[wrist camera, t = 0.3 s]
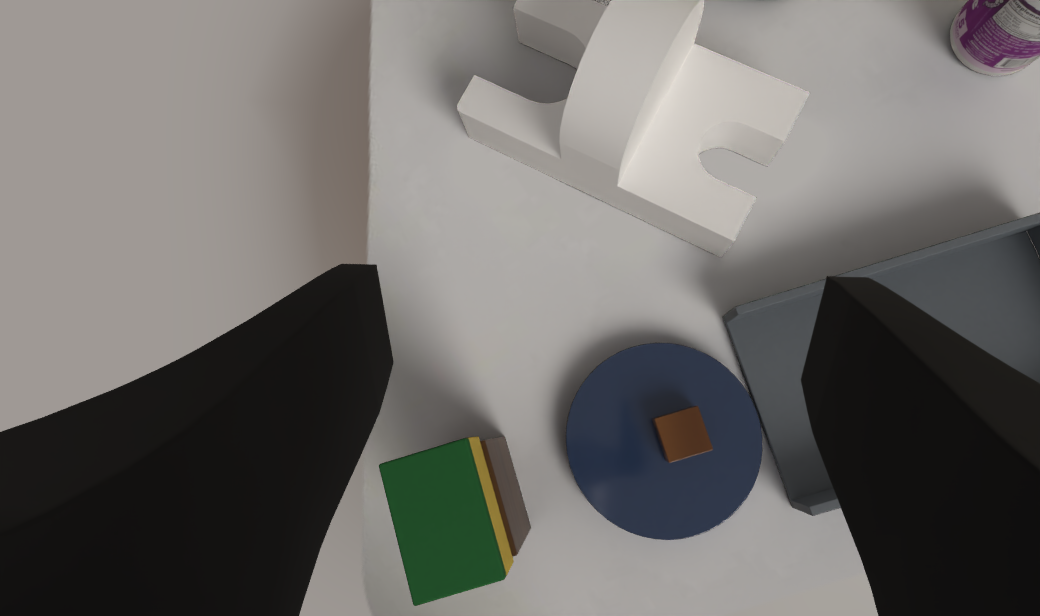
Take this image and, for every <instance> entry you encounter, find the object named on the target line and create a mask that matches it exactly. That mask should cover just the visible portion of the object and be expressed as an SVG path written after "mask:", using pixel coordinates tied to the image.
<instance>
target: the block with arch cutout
mask: <svg viewBox="0 0 1040 616" xmlns="http://www.w3.org/2000/svg"><path fill="white" fill-rule="evenodd" d="M703 9H704V0H611V1H610V3H609V5H608V6H605V5H603V4H601V3H598V2H596V1H594V0H517V1H516V3H515V5H514V7H513V11H514V16H515V22H516V28H517V34H518V39H519V42H520V43H522V44H524V45H527V46H529V47H531V48H533V49H536V50H538V51H540V52H542V53H545V54H547V55H549V56H551V57H554V58H556V59H558V60H560V61H563V62H565V63H567V64H569V65H571V66H572V67H574V68H576V69H577V72H576V75H575V77H574V80H573V83H572V85H571V88H570V92H569V95H568V98H566V99H564V100H562V101H559V102H554V103H538V102H535V101H531V100H528V99H526V98H524V97H522V96H520V95H517V94H515V93H513V92H511V91H509V90H507V89H504V88H502V87H500V86H498V85H496V84H493V83H491V82H489V81H487V80H485V79H483V78H480V77H478V76H476V75H474V76H473V78H472V80H471V81H470V83H469V85H468V87H467V88H466V90H465V92H464V94H463V95H462V97H461V99H460V101H459V102H458V104H457V109H458V112H459V114H460V117H461V119H462V122H463V124H464V127H465V129H466V131H467V134H468V136H469V137H470V138H471V139H473V140H475V141H477V142H480V143H482V144H484V145H486V146H488V147H490V148H492V149H494V150H496V151H498V152H500V153H503V154H505V155H507V156H509V157H511V158H513V159H515V160H517V161H519V162H521V163H523V164H526V165H528V166H530V167H532V168H534V169H536V170H538V171H540V172H542V173H544V174H546V175H549V176H551V177H553V178H555V179H557V180H559V181H561V182H564V183H566V184H568V185H570V186H572V187H574V188H576V189H578V190H580V191H583V192H585V193H587V194H589V195H591V196H593V197H595V198H597V199H599V200H601V201H603V202H606V203H608V204H610V205H612V206H614V207H616V208H618V209H620V210H622V211H624V212H627V213H629V214H631V215H633V216H635V217H637V218H639V219H641V220H643V221H645V222H647V223H650V224H652V225H654V226H656V227H658V228H660V229H662V230H664V231H666V232H668V233H670V234H673V235H675V236H677V237H679V238H681V239H683V240H685V241H687V242H689V243H691V244H693V245H696V246H698V247H700V248H702V249H704V250H706V251H708V252H710V253H712V254H714V255H716V256H719V257H722V256H723V255H724V254H725V252H726V251H727V250H728V249H729V248H730V246H731V245H732V244H733V243H734V242H735V240H736V238H737V236H738V234H739V232H740V230H741V228H742V226H743V224H744V222H745V220H746V218H747V216H748V214H749V212H750V210H751V208H752V206H753V204H754V202H755V200H756V198H757V197H755V196H753V195H751V194H749V193H746V192H744V191H742V190H740V189H738V188H735V187H733V186H731V185H729V184H727V183H724V182H722V181H720V180H718V179H716V178H714V177H713V176H711V175H710V174H709V173H708V172H707V171H706V170H705V169H704V168H703V166H702V164H701V162H700V159H699V154H700V153H701V152H703V151H706V150H708V149H712V148H725V149H728V150H731V151H733V152H736V153H738V154H740V155H742V156H745V157H747V158H749V159H751V160H754V161H756V162H758V163H760V164H762V165H765V166H767V167H768V165H769V164H770V163H771V161H772V160H773V158H774V157H775V156H776V154H777V153H778V151H779V150H780V149H781V147H782V146H783V144H784V143H785V141H786V139H787V138H788V136H789V134H790V132H791V130H792V128H793V126H794V124H795V122H796V120H797V118H798V116H799V114H800V112H801V110H802V108H803V106H804V104H805V102H806V100H807V98H808V96H809V94H810V92H808V91H806V90H803V89H801V88H799V87H796V86H794V85H792V84H789V83H787V82H785V81H782V80H780V79H777V78H775V77H773V76H770V75H768V74H766V73H763V72H761V71H759V70H756V69H754V68H751V67H749V66H747V65H744V64H742V63H740V62H737V61H735V60H733V59H730V58H728V57H725V56H723V55H721V54H718V53H716V52H714V51H711V50H709V49H707V48H704V47H702V46H700V45H697V44H695V43H694V42H695V39H696V35H697V32H698V28H699V25H700V21H701V18H702V13H703Z"/></svg>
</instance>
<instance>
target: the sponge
mask: <svg viewBox="0 0 1040 616" xmlns="http://www.w3.org/2000/svg"><path fill="white" fill-rule="evenodd" d="M379 468H380V472H381V476H382V481H383V485H384V489H385V493H386V497H387V501H388V505H389V509H390V513H391V517H392V521H393V525H394V529H395V533H396V537H397V541H398V545H399V549H400V553H401V557H402V561H403V565H404V569H405V573H406V577H407V581H408V585H409V589H410V593H411V597H412V601H413V604H414V606H417V605H420V604H424V603H427V602H430V601H434V600H437V599H440V598H444V597H447V596H451V595H454V594H457V593H461V592H464V591H468V590H471V589H474V588H478V587H481V586H484V585H488V584H491V583H495V582H498V581H501V580H504V579H505V577H506V575H507V574H508V572H509V570H510V568H511V566H512V564H513V557H512V554H511V550H510V547H509V543H508V540H507V536H506V532H505V529H504V525H503V522H502V518H501V515H500V511H499V508H498V504H497V500H496V497H495V493H494V490H493V486H492V483H491V479H490V475H489V472H488V468H487V465H486V461H485V458H484V454H483V451H482V447H481V443H480V440H479V437H478V436H477V437H469V438H463V439H460V440H457V441H454V442H450V443H447V444H444V445H440V446H437V447H434V448H431V449H427V450H424V451H421V452H418V453H414V454H411V455H408V456H405V457H401V458H398V459H395V460H391V461H388V462H385V463H382V464H380V465H379Z"/></svg>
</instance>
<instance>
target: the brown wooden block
mask: <svg viewBox="0 0 1040 616" xmlns="http://www.w3.org/2000/svg"><path fill="white" fill-rule="evenodd" d="M480 443H481V447H482V451H483V454H484V458H485V461H486V465H487V468H488V472H489V475H490V479H491V483H492V486H493V490H494V493H495V497H496V500H497V504H498V508H499V511H500V515H501V518H502V522H503V525H504V529H505V532H506V536H507V540H508V543H509V547H510V550H511V554H512V556H516V555H517V554H518V552H519V550H520V548H521V546H522V544H523V542H524V541H525V539H526V537H527V535H528V533H529V531H530V529H531V525H530V522H529V519H528V515H527V512H526V508H525V505H524V501H523V498H522V494H521V491H520V487H519V484H518V480H517V477H516V474H515V470H514V467H513V463H512V460H511V456H510V453H509V449H508V446H507V442H506V439H505V437H504V436H503V437H497V438H492V439H486V440H482V441H480Z"/></svg>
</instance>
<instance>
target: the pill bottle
mask: <svg viewBox="0 0 1040 616" xmlns="http://www.w3.org/2000/svg"><path fill="white" fill-rule="evenodd" d="M950 41H951V46H952V49H953V51H954V53H955V55H956V56H957V57H958V59H959V60H960V61H961V62H962V63H963V64H964V65H965V66H967V67H968V68H970V69H972V70H974V71H975V72H978V73H982V74H986V75H990V76H1002V75H1009V74H1013V73H1015V72H1018V71H1020V70H1022V69H1024V68H1026V67H1027V66H1028V65H1030V64H1031V63H1032V62H1034V61H1035V60H1036V59H1038V58H1039V57H1040V0H969V1H968V2H967V3H966V4H965V5H964V6H963V7H962V9H961V10H960V11H959V12H958V13H957V15H956V16H955V18H954V20H953V22H952V25H951V29H950Z"/></svg>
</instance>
